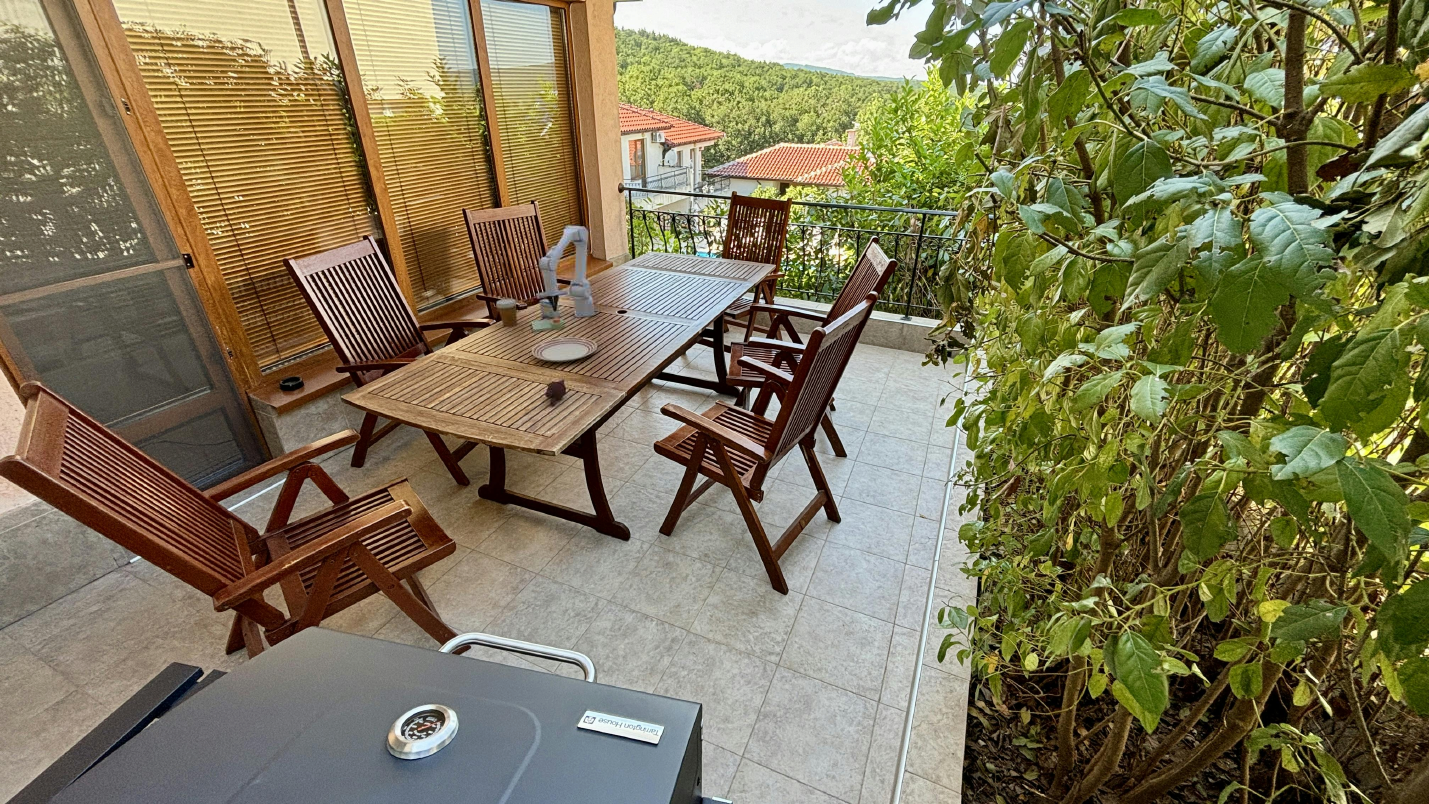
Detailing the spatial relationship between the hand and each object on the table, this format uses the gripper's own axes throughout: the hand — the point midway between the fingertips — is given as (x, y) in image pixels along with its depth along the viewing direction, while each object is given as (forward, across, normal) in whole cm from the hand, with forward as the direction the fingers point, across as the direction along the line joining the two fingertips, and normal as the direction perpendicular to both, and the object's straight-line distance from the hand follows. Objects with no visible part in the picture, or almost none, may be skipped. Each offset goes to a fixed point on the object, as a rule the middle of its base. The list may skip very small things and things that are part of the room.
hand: (555, 310), depth 286 cm
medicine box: (+9, -2, +18) cm, 20 cm away
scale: (+8, -4, +4) cm, 10 cm away
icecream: (+9, -8, -78) cm, 79 cm away
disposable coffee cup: (+9, -22, +14) cm, 27 cm away
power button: (+6, 0, 0) cm, 6 cm away
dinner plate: (+9, 0, -36) cm, 38 cm away
